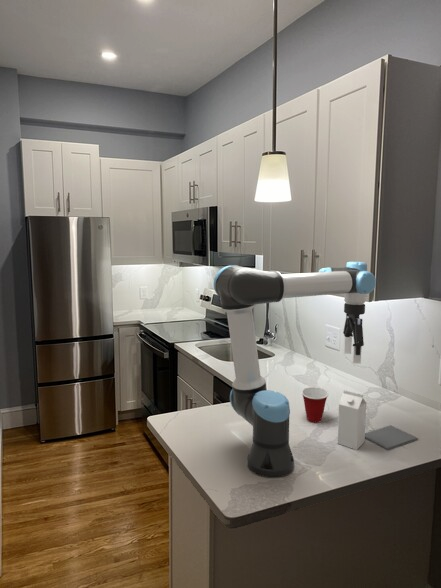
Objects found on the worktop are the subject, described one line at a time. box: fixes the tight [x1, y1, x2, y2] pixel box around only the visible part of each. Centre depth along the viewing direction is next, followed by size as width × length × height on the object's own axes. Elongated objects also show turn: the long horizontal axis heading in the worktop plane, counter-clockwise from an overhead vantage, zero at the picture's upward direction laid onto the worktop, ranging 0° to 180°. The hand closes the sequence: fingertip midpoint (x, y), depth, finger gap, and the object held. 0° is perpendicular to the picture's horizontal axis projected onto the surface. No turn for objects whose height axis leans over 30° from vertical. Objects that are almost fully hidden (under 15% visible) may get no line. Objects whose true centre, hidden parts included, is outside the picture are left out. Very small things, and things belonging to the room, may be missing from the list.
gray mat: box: [365, 424, 419, 451], centre depth 164 cm, size 16×12×1 cm
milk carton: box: [337, 390, 367, 450], centre depth 159 cm, size 7×7×19 cm
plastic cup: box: [300, 386, 330, 424], centre depth 179 cm, size 11×11×12 cm
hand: (351, 358), depth 170 cm, fingers open, 13 cm apart
